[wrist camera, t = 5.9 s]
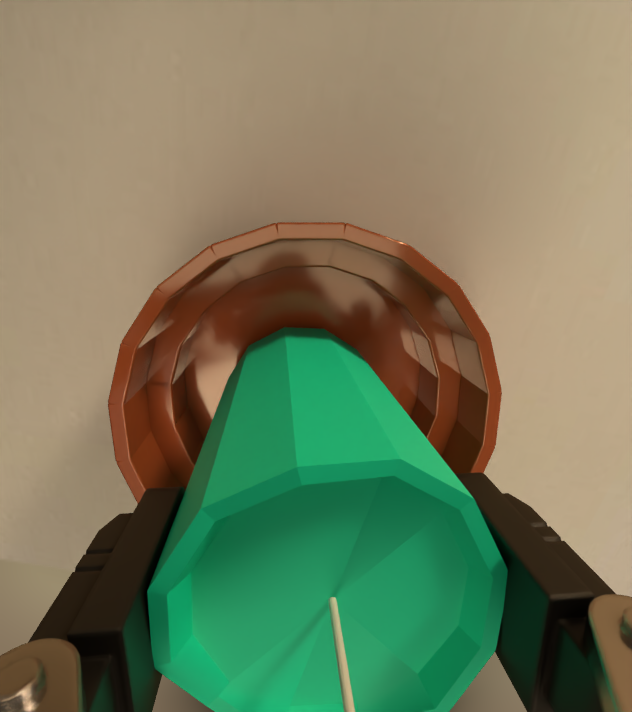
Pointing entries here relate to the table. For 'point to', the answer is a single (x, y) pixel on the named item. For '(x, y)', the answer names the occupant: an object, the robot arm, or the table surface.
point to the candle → (322, 548)
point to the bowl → (301, 310)
